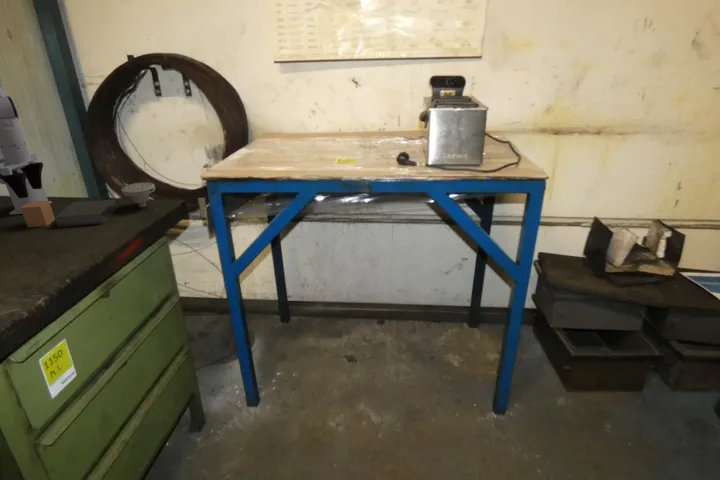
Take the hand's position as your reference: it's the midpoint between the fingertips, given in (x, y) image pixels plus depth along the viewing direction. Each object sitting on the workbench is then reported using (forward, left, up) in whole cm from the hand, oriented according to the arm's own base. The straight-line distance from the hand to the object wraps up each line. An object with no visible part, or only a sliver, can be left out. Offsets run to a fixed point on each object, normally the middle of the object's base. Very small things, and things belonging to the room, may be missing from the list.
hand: (30, 193), depth 118 cm
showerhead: (-9, +25, -10) cm, 28 cm away
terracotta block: (0, 0, -9) cm, 9 cm away
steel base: (-2, +12, -9) cm, 15 cm away
